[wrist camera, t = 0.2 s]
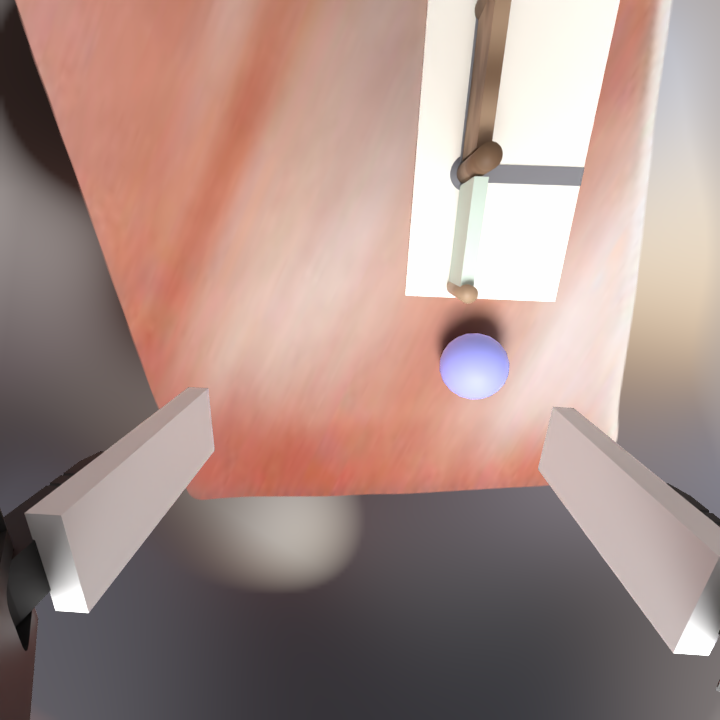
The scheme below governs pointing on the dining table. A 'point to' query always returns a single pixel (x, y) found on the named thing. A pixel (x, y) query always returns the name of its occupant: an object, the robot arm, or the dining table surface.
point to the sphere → (474, 366)
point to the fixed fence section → (485, 90)
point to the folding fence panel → (467, 239)
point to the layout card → (508, 143)
